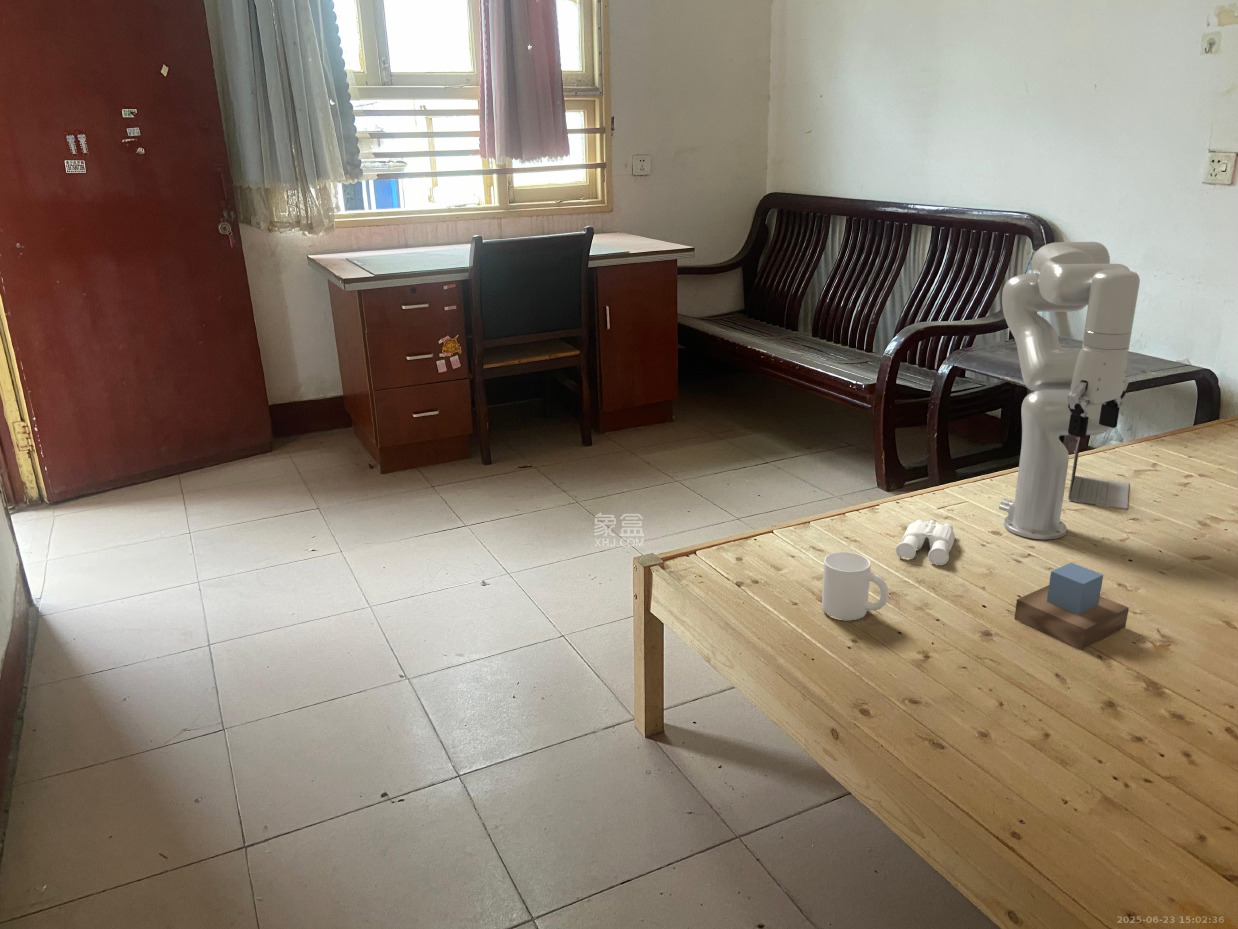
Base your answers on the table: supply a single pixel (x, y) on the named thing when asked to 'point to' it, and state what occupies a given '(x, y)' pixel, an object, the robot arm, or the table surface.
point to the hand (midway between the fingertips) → (1092, 430)
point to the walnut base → (1071, 619)
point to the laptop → (1097, 489)
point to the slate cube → (1074, 588)
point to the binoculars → (938, 540)
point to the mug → (849, 586)
